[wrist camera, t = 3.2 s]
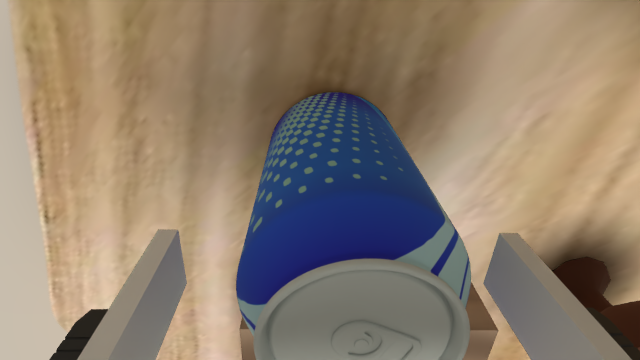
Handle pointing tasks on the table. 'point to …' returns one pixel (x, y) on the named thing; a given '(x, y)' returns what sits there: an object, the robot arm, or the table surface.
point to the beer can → (350, 245)
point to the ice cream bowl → (599, 294)
